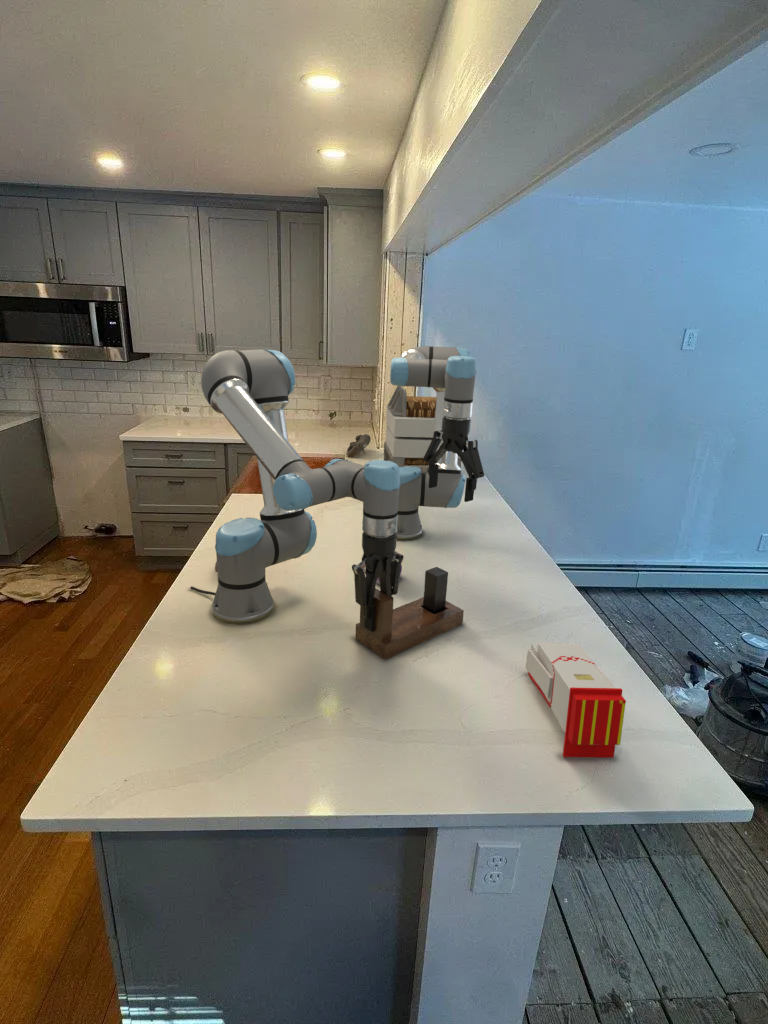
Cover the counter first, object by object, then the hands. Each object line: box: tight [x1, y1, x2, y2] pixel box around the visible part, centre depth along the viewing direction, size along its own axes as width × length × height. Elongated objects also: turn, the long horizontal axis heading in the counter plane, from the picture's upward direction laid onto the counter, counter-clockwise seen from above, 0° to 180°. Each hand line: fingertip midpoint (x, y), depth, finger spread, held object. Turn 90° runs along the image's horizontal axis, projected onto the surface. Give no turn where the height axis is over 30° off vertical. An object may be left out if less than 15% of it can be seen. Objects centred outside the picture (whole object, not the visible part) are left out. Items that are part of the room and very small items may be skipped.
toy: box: [525, 642, 627, 759], centre depth 113 cm, size 12×13×30 cm
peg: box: [423, 566, 449, 614], centre depth 143 cm, size 4×4×14 cm
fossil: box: [346, 433, 372, 458], centre depth 305 cm, size 22×10×15 cm
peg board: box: [354, 587, 465, 661], centre depth 138 cm, size 11×26×14 cm, turn 131°
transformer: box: [383, 385, 462, 470], centre depth 268 cm, size 34×33×41 cm
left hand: (375, 626), depth 131 cm, fingers closed on peg board, 3 cm apart
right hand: (450, 493), depth 156 cm, fingers open, 13 cm apart
